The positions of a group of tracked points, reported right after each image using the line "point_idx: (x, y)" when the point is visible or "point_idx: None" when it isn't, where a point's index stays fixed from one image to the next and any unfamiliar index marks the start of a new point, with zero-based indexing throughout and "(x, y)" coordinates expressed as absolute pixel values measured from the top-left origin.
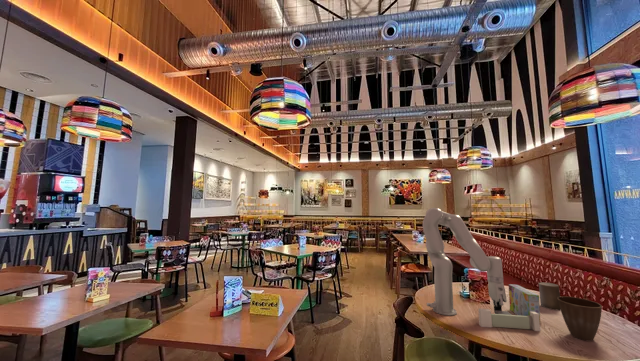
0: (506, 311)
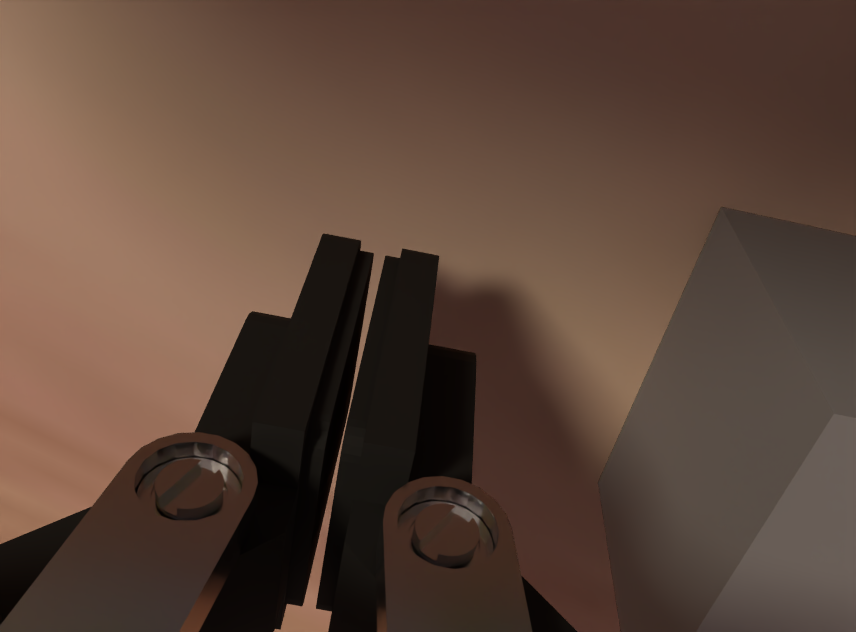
0: (848, 458)
